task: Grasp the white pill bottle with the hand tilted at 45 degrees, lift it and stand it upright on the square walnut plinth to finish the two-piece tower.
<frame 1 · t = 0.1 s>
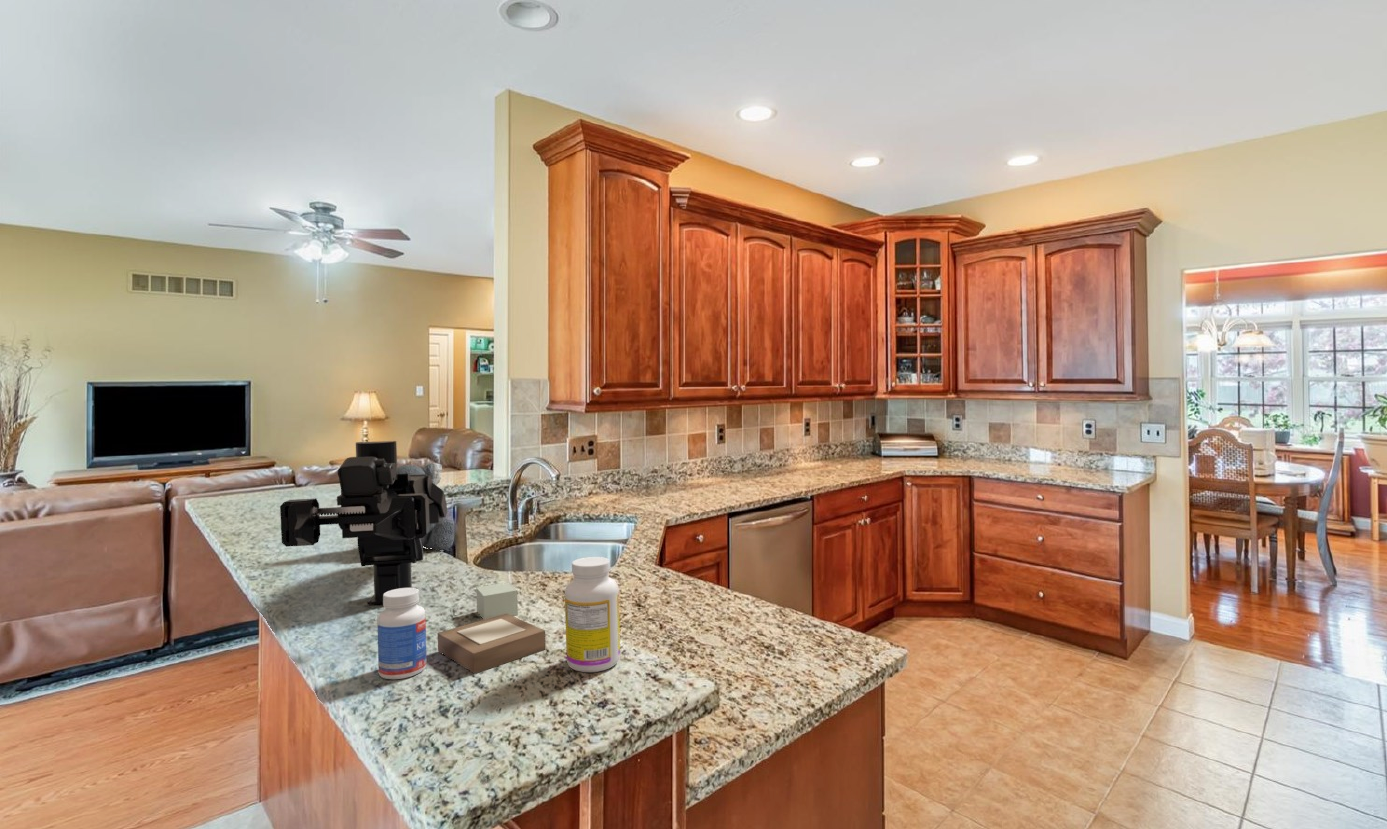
hand: (335, 531, 81), 17 cm above the worktop, tool horizontal, fingers open, 9 cm apart
koala plush: (408, 548, 143), on the worktop
pill bottle: (403, 672, 78), on the worktop
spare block: (497, 614, 98), on the worktop
plinth: (491, 650, 84), on the worktop
supplement bottle: (593, 664, 79), on the worktop
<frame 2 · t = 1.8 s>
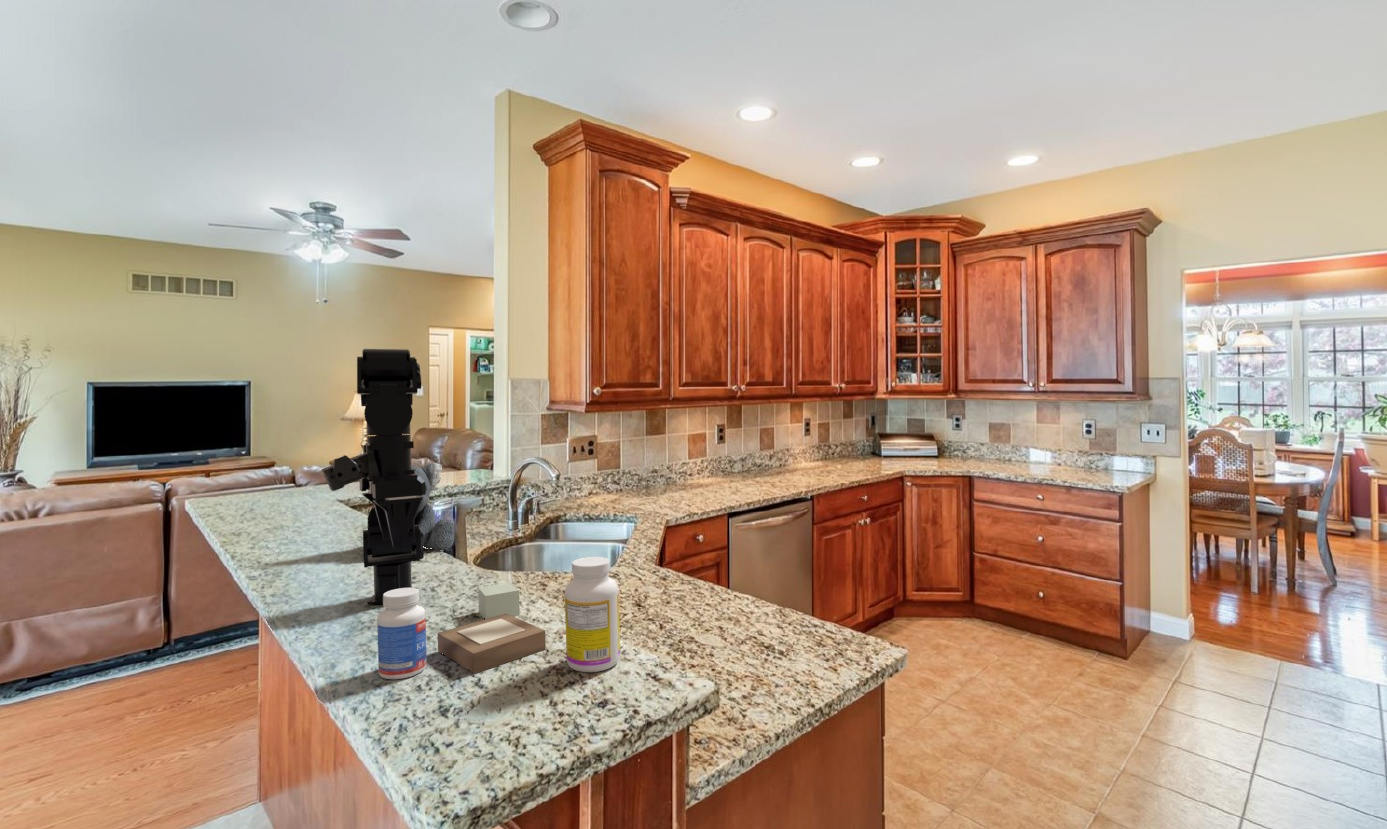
hand: (392, 543, 92), 13 cm above the worktop, tool pointing down, fingers open, 9 cm apart
nothing on the worktop moved.
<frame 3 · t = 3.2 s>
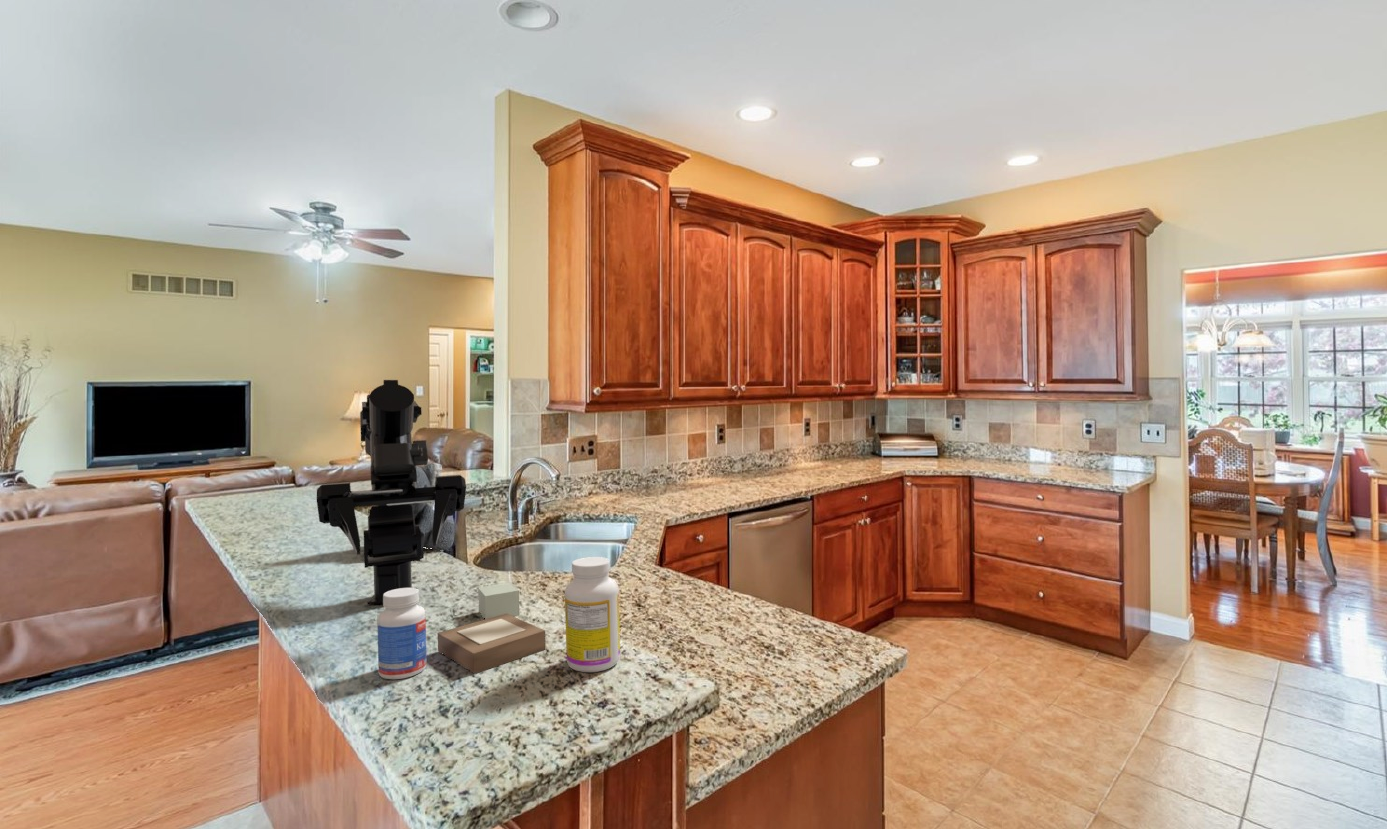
hand: (397, 548, 85), 13 cm above the worktop, tool tilted 45°, fingers open, 9 cm apart
nothing on the worktop moved.
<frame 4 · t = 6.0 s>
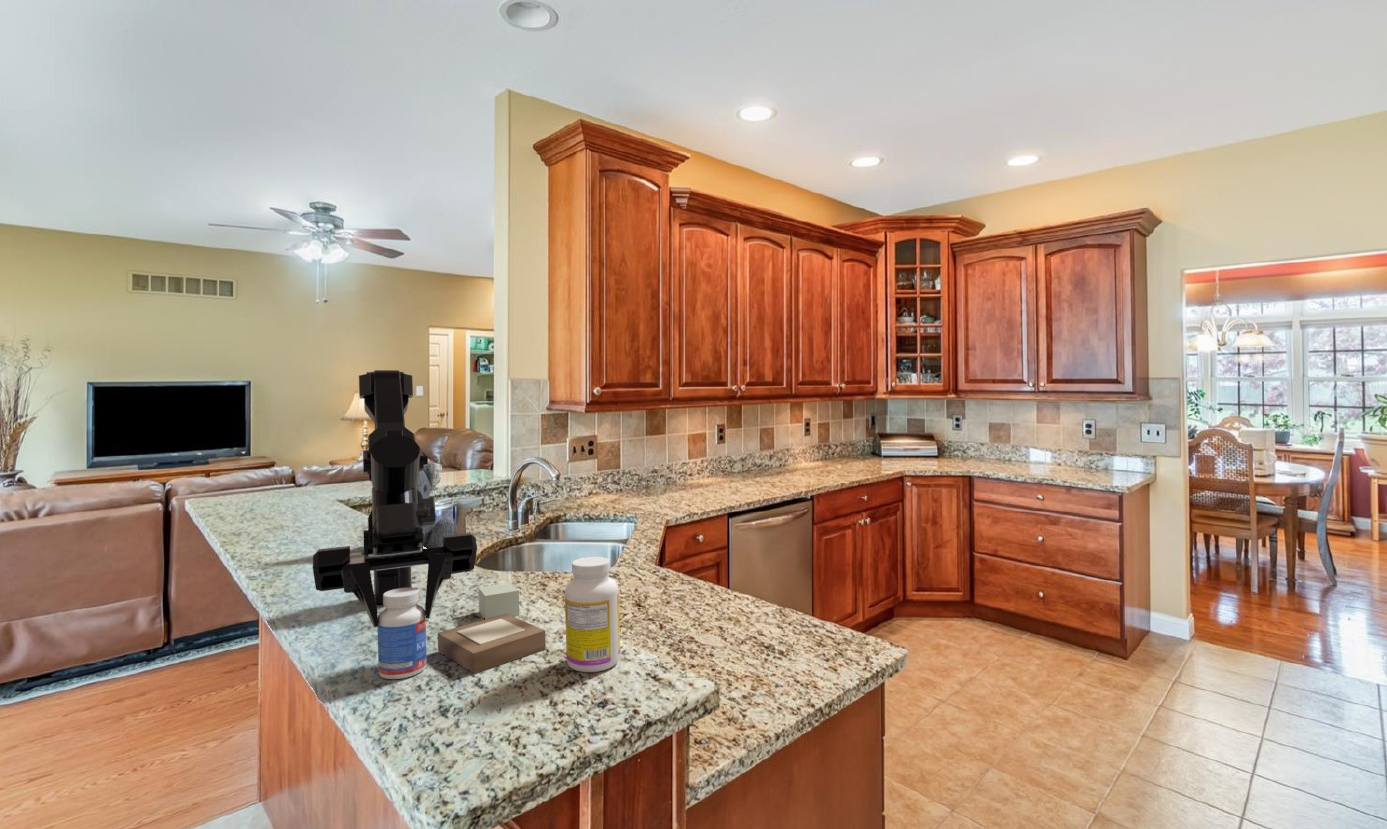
hand: (402, 621, 77), 7 cm above the worktop, tool tilted 45°, fingers closed on pill bottle, 5 cm apart
pill bottle: (403, 672, 78), on the worktop, touching gripper
everything else where it was.
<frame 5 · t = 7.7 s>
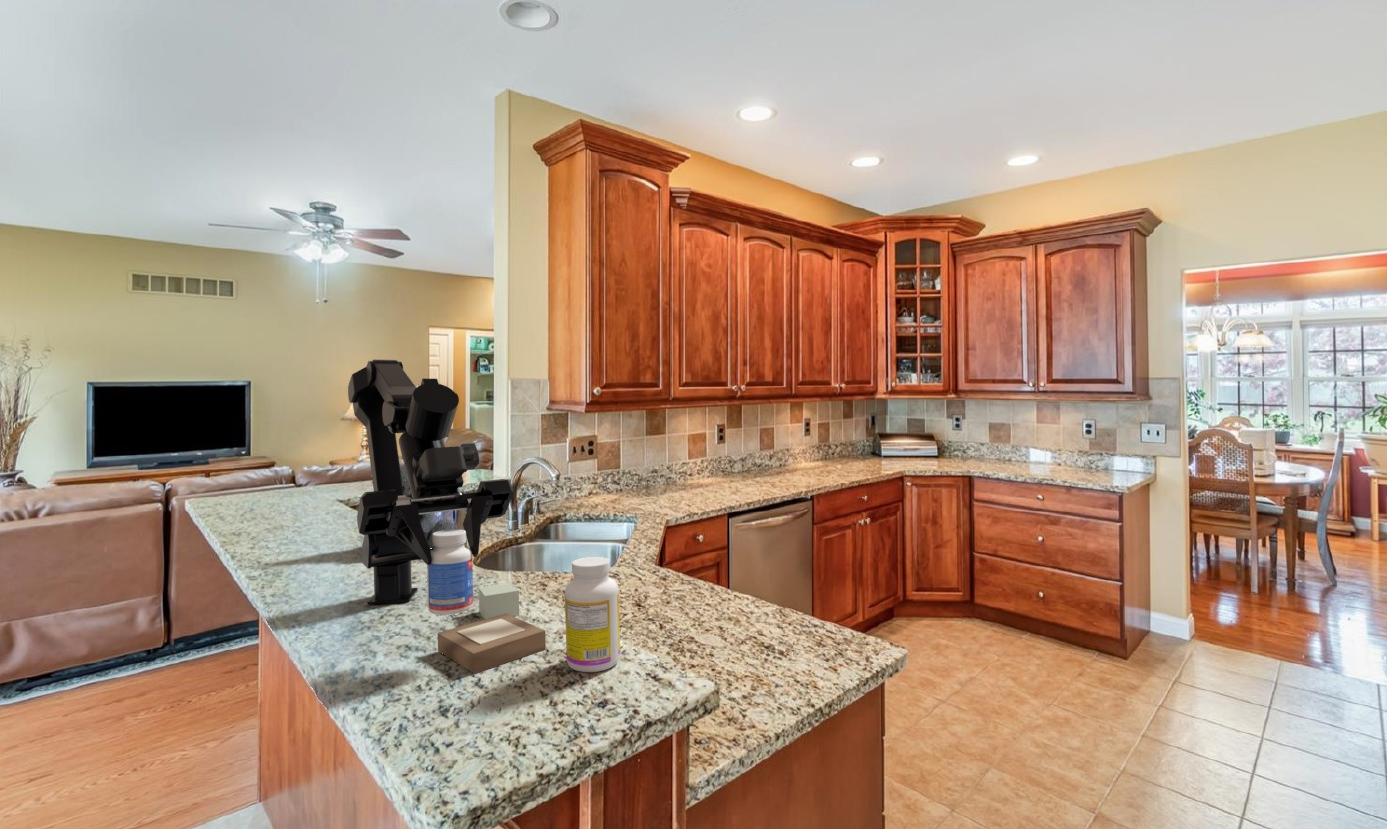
hand: (453, 559, 79), 13 cm above the worktop, tool tilted 45°, fingers closed on pill bottle, 5 cm apart
pill bottle: (451, 610, 81), point 6 cm above the worktop, touching gripper
everything else where it was.
when the fingers open (10 cm above the worktop, at t = 9.4 s): pill bottle stays where it is, resting on plinth.
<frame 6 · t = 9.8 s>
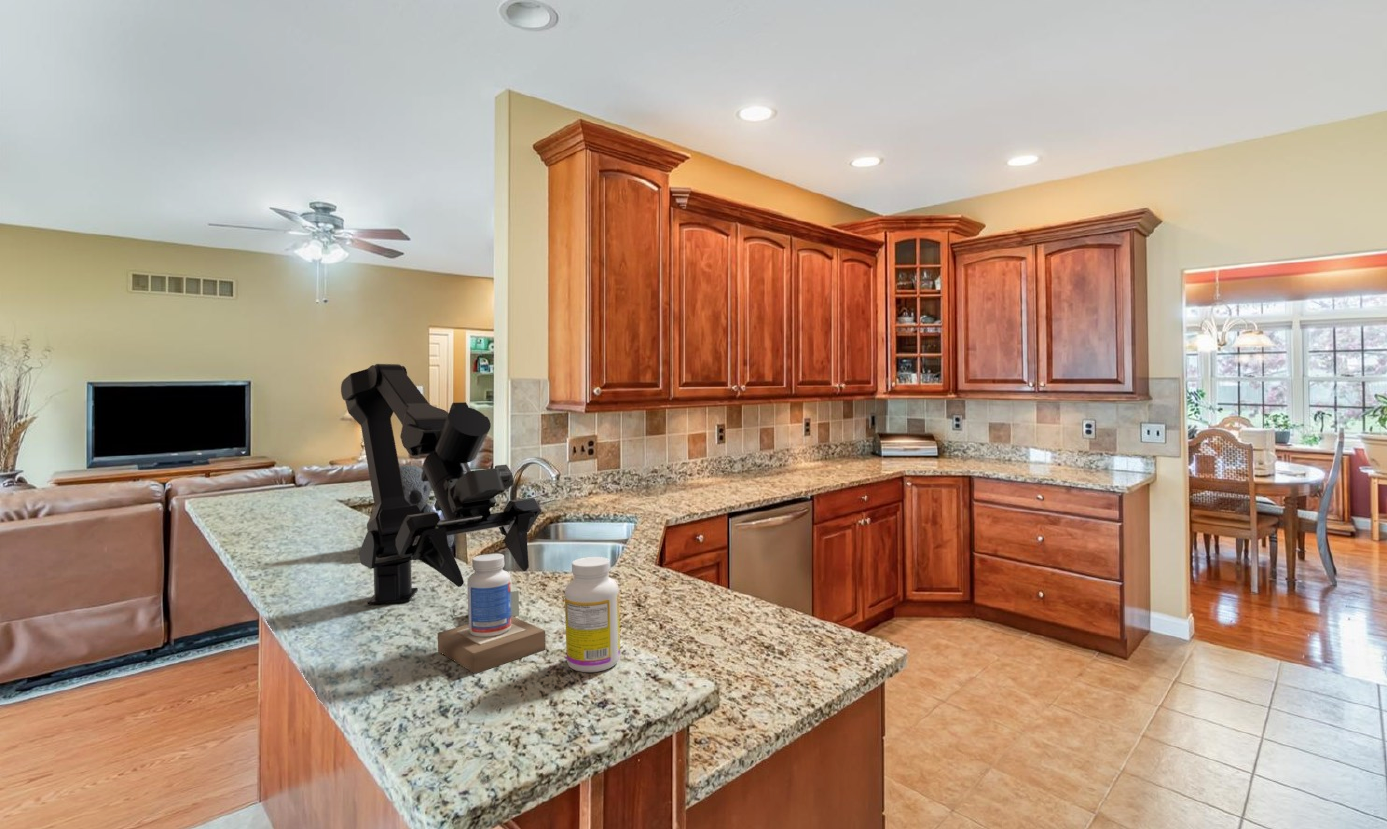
hand: (495, 577, 83), 10 cm above the worktop, tool tilted 45°, fingers open, 9 cm apart
pill bottle: (490, 631, 84), point 2 cm above the worktop, touching plinth
everything else where it was.
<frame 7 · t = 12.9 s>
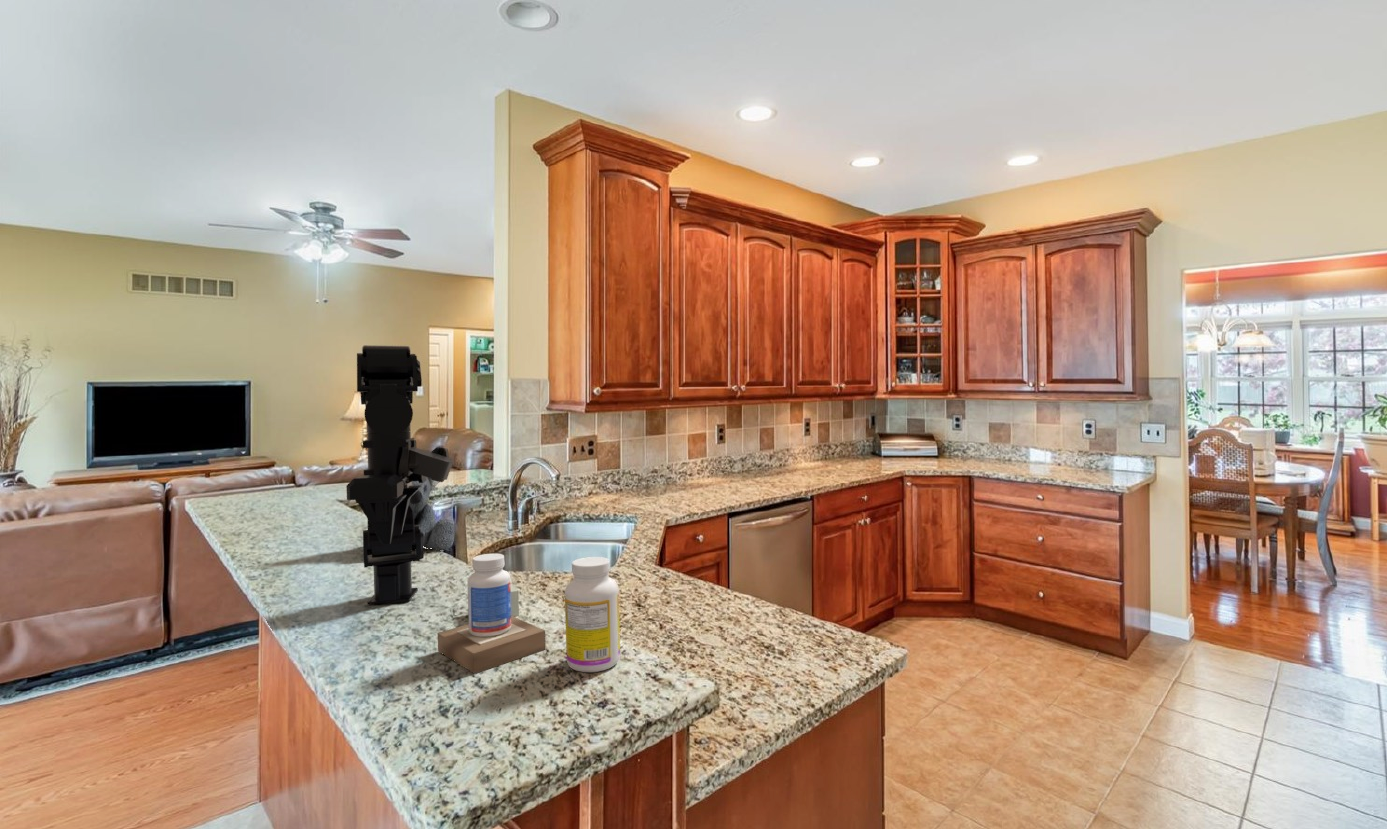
hand: (392, 539, 92), 13 cm above the worktop, tool pointing down, fingers open, 6 cm apart
nothing on the worktop moved.
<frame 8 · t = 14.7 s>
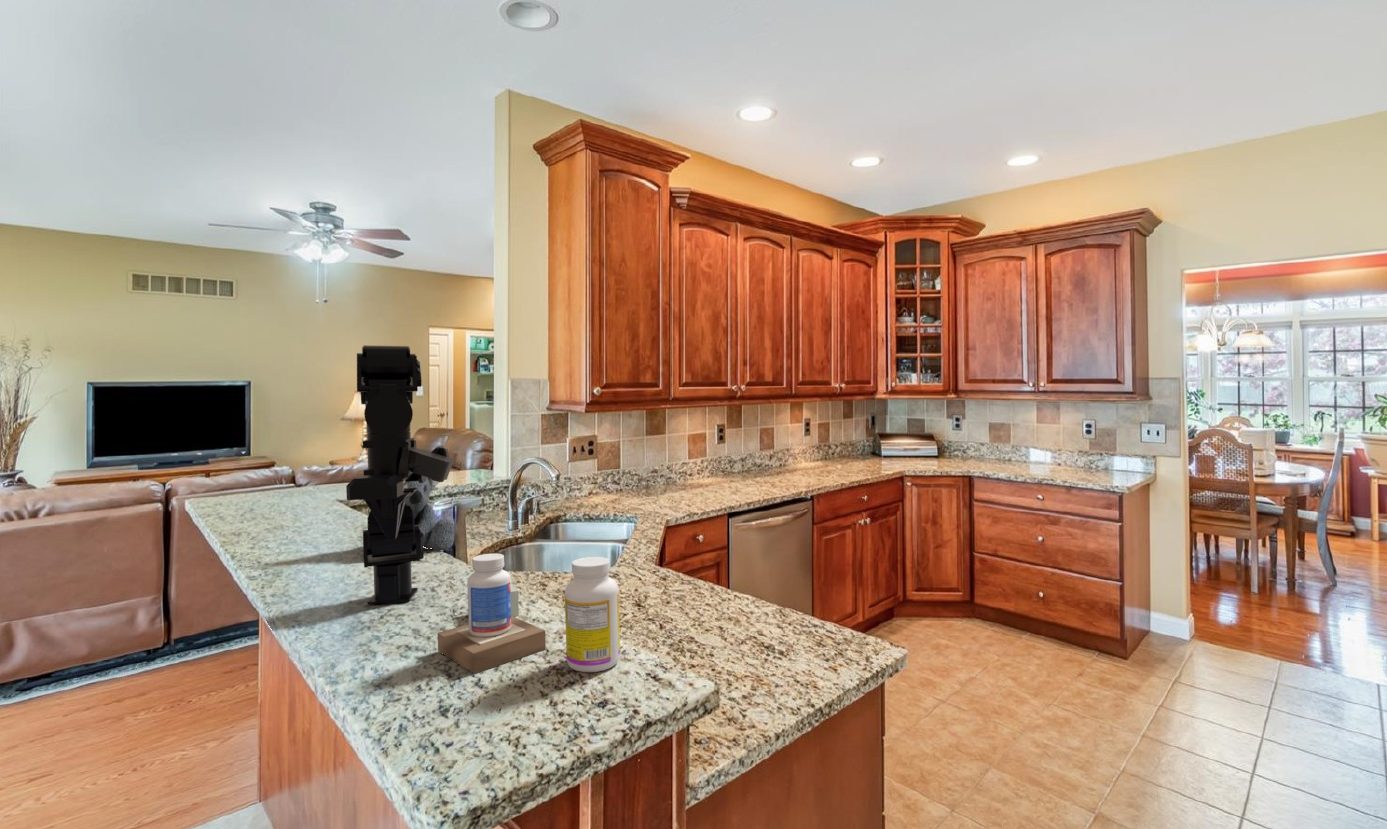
hand: (392, 539, 92), 13 cm above the worktop, tool pointing down, fingers closed
nothing on the worktop moved.
at the end: pill bottle 0.2 cm from the plinth (horizontally); pill bottle point 2.5 cm above the worktop; pill bottle tilted 0° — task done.
